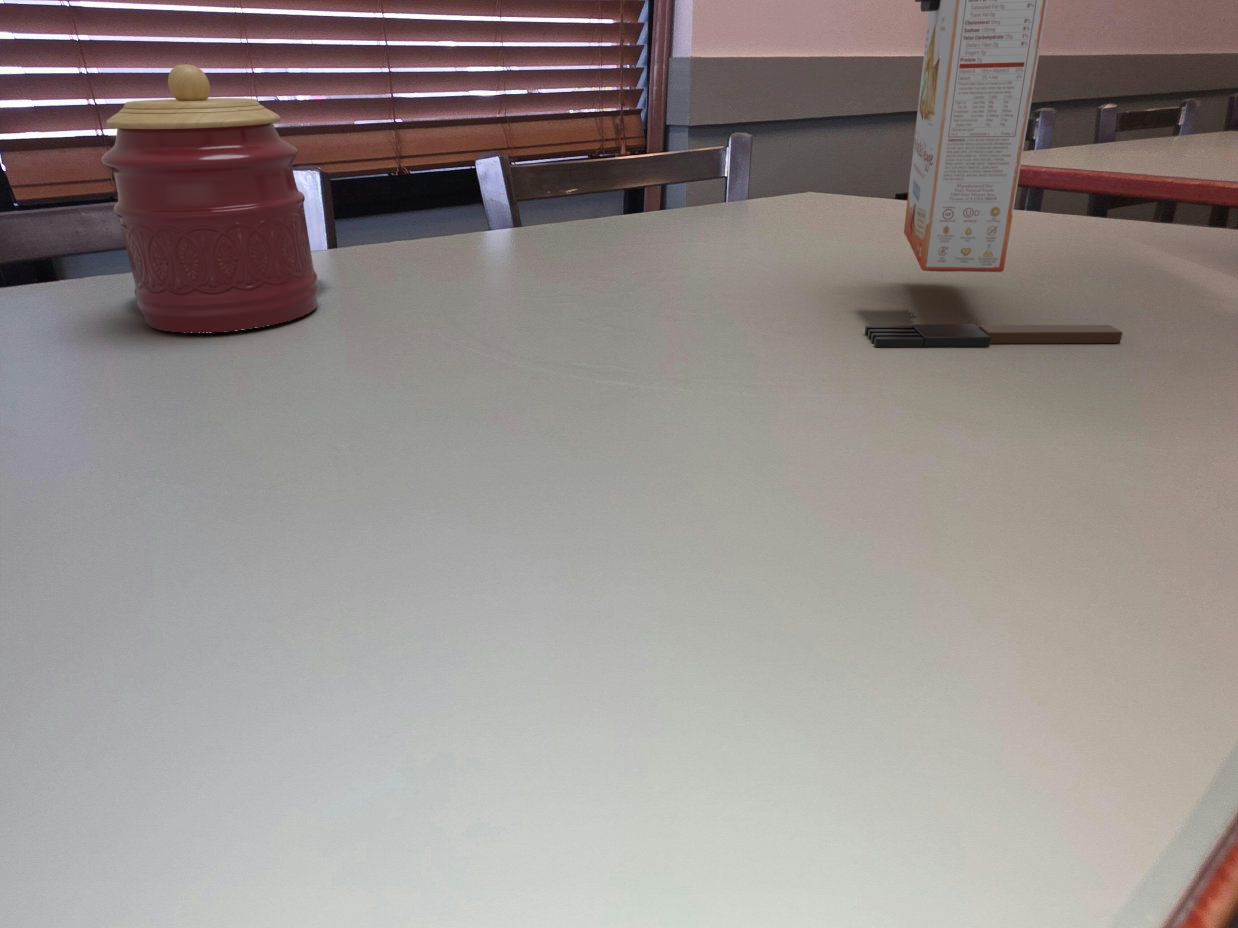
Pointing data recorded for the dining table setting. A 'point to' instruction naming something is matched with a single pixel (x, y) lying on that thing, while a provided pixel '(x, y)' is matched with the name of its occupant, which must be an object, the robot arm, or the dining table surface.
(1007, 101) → the cracker box
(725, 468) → the dining table surface
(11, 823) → the dining table surface
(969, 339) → the fork
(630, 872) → the dining table surface
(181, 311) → the kitchen canister
